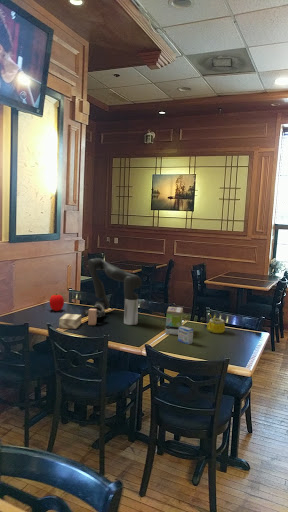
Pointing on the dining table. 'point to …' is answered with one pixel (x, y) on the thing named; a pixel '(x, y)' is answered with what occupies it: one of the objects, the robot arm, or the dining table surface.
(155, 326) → the dining table surface
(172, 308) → the tea box
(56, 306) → the red apple
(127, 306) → the robot arm
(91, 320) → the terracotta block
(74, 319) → the birch block
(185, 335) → the medicine box
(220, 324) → the yellow teapot
